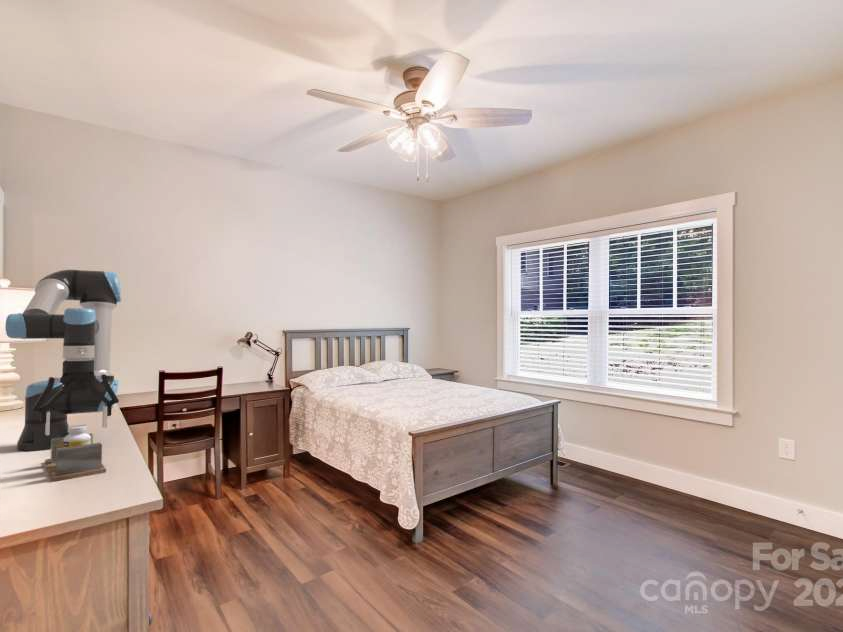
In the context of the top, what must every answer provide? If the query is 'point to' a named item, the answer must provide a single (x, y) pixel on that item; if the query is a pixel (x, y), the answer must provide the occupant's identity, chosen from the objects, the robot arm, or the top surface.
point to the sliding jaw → (57, 444)
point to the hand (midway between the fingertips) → (77, 430)
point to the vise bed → (76, 462)
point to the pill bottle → (77, 436)
